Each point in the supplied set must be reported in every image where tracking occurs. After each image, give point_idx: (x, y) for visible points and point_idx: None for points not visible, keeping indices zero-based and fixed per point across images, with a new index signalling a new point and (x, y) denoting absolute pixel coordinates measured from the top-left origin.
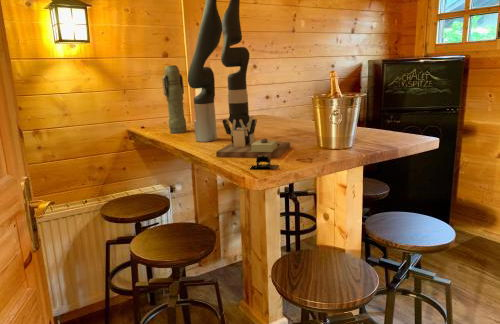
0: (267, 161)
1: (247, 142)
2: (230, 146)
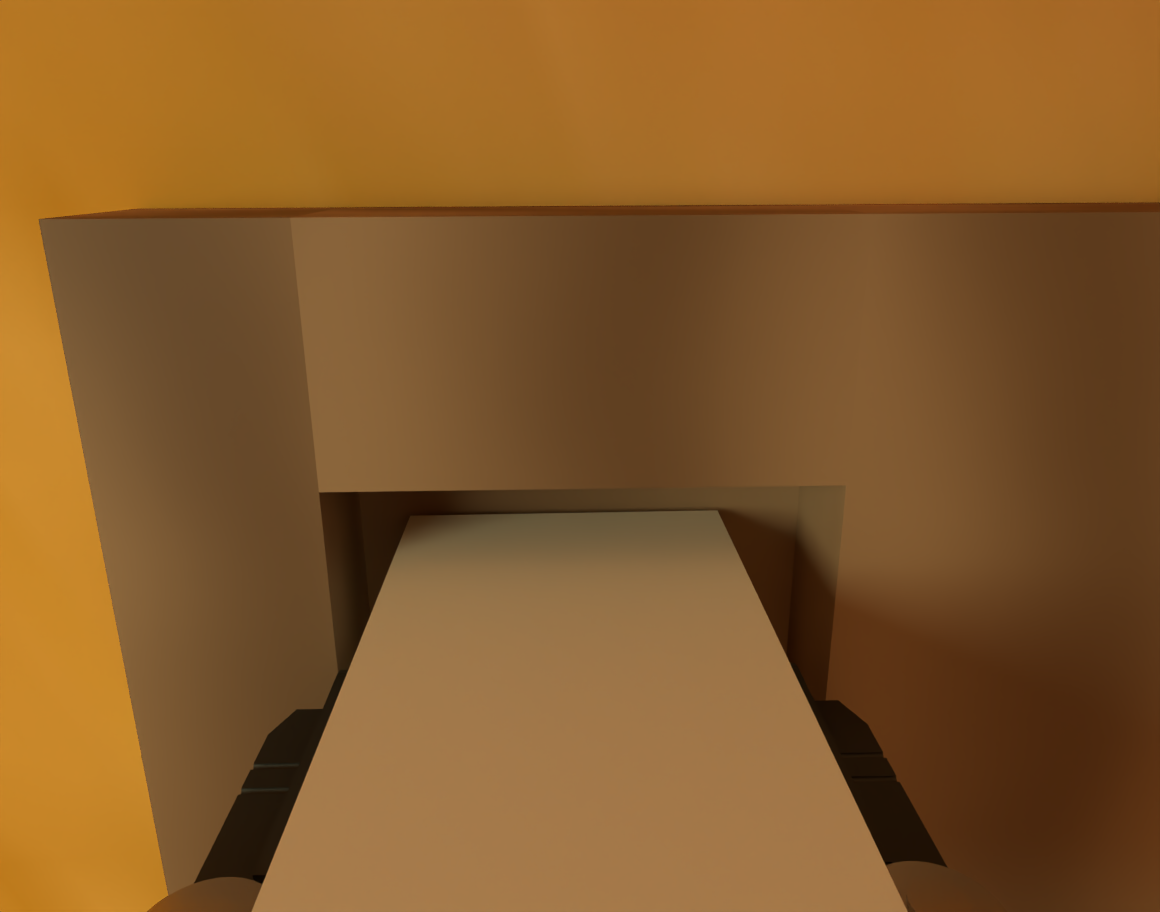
0: None
1: None
2: None
